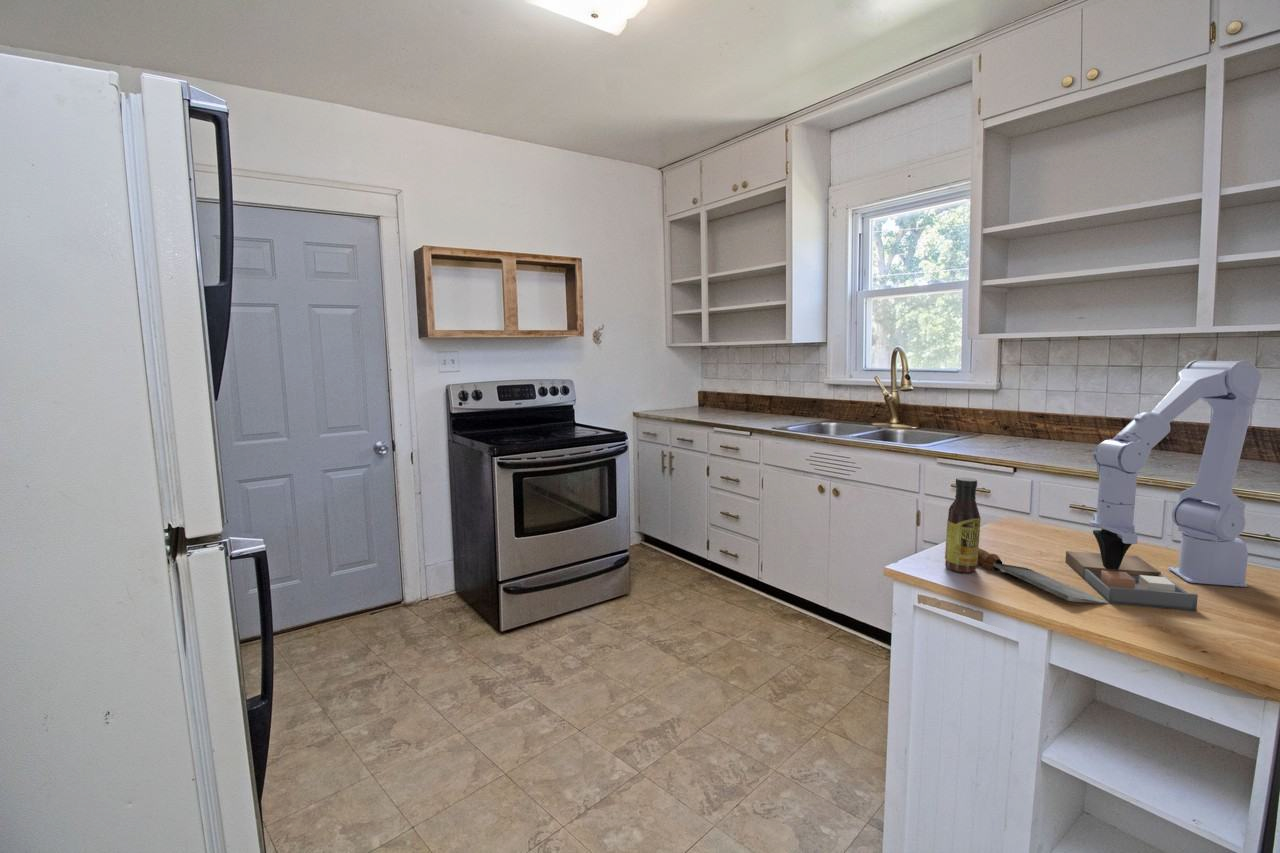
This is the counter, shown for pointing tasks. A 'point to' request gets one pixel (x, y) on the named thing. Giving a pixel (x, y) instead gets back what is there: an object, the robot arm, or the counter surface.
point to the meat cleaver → (1036, 579)
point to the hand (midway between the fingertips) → (1110, 568)
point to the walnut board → (1095, 565)
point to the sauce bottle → (963, 528)
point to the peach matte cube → (1117, 579)
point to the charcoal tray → (1142, 594)
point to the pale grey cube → (1155, 583)
